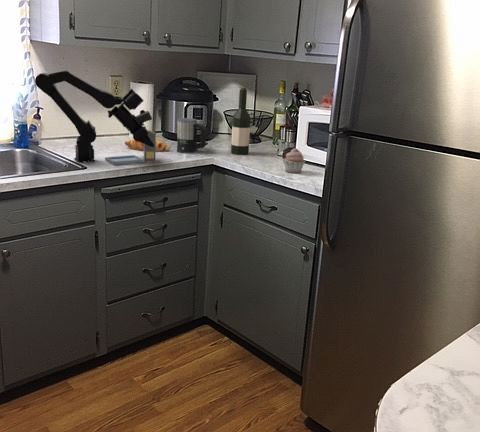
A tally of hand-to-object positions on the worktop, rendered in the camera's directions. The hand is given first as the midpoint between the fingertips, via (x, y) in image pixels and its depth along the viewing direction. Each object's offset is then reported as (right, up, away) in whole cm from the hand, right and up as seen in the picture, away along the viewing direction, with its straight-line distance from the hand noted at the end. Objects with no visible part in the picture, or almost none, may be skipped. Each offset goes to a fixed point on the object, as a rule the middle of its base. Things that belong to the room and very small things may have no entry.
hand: (152, 145), depth 236 cm
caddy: (-2, -6, +2) cm, 7 cm away
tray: (-11, -7, -3) cm, 14 cm away
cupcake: (+58, -11, -2) cm, 59 cm away
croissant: (-6, +1, +24) cm, 25 cm away
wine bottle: (+36, 0, +28) cm, 46 cm away
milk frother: (+14, +1, +29) cm, 32 cm away
